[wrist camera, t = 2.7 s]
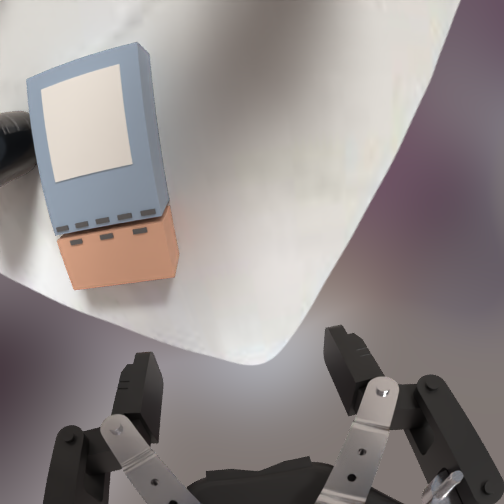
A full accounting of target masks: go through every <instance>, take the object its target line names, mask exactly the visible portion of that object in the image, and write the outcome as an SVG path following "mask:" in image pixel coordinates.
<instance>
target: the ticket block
mask: <svg viewBox="0 0 504 504" xmlns="http://www.w3.org/2000/svg"><path fill="white" fill-rule="evenodd" d="M26 82H27V94H28V105H29V114H30V122H31V129H32V136H33V142H34V148H35V154H36V159H37V164H38V169H39V174H40V179H41V183H42V188H43V192H44V196H45V200H46V204H47V208H48V212H49V215H50V219H51V223H52V226H53V229H54V233H55V236H56V235H61V234H66V233H71V232H76V231H81V230H86V229H91V228H96V227H102V226H107V225H113V224H118V223H124V222H130V221H135V220H141V219H147V218H153V217H159V216H162V214H163V212H164V210H165V208H166V205H167V203H168V201H169V196H168V190H167V184H166V178H165V172H164V166H163V160H162V153H161V147H160V140H159V133H158V126H157V118H156V110H155V102H154V94H153V85H152V76H151V66H150V56H149V53H148V52H147V51H146V50H145V49H144V48H143V47H142V46H141V45H140V44H139V43H138V42H135V43H131V44H127V45H123V46H119V47H115V48H112V49H108V50H105V51H101V52H98V53H95V54H91V55H88V56H85V57H82V58H79V59H76V60H73V61H71V62H68V63H65V64H62V65H60V66H57V67H54V68H52V69H49V70H47V71H44V72H42V73H40V74H37V75H35V76H33V77H30V78H28V79H26Z"/></svg>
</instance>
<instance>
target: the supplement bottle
mask: <svg viewBox="0 0 504 504" xmlns="http://www.w3.org/2000/svg"><path fill="white" fill-rule="evenodd" d="M36 164H37V159H36V154H35V148H34V142H33V136H32V129H31V122H30V114H29V113H28V112H24V111H12V112H4V113H0V187H1V186H3V185H5V184H7V183H9V182H11V181H13V180H15V179H17V178H19V177H21V176H23V175H25V174H27V173H28V172H30V171H31V170H32V169H33V168H34V167H35V165H36Z"/></svg>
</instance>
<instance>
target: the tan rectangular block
mask: <svg viewBox="0 0 504 504" xmlns="http://www.w3.org/2000/svg"><path fill="white" fill-rule="evenodd" d="M57 243H58V246H59V249H60V252H61V255H62V258H63V261H64V264H65V267H66V270H67V272H68V275H69V278H70V281H71V283H72V286H73V289H74V290H80V289H88V288H96V287H104V286H112V285H120V284H127V283H135V282H143V281H150V280H158V279H165V278H173V277H175V274H176V269H177V263H178V258H179V250H178V245H177V240H176V235H175V230H174V225H173V220H172V215H171V210H170V206H166V208H165V210H164V212H163V214H162V216H159V217H153V218H147V219H141V220H135V221H130V222H124V223H118V224H113V225H107V226H102V227H96V228H91V229H86V230H81V231H76V232H71V233H66V234H64V235H62V236H61V237H60V238H59V239H58V240H57Z"/></svg>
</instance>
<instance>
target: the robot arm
mask: <svg viewBox="0 0 504 504" xmlns="http://www.w3.org/2000/svg"><path fill="white" fill-rule="evenodd" d="M324 360H325V363H326V366H327V368H328V371H329V373H330V375H331V377H332V379H333V382H334V384H335V386H336V389H337V391H338V393H339V396H340V398H341V400H342V403H343V405H344V407H345V410H346V412H347V414H348V416H351V415H355V414H356V418H355V420H354V421H353V423H352V425H351V428H350V430H349V433H348V435H347V437H346V440H345V442H344V445H343V447H342V449H341V451H340V454H339V456H338V458H337V461H336V463H335V465H334V466H332V465H329V464H325V463H319V462H311V460H310V457H309V456H307V457H303V458H298V459H293V460H288V461H284V462H281V463H279V464H277V465H274V466H271V467H269V468H266V469H264V470H261V471H248V470H236V469H226V470H215V471H206V478H203V479H200V480H198V481H196V482H194V483H192V484H191V485H189V486H188V487H187V488H186V487H185V486H184V485H183V484H182V483H181V482H180V481H179V480H178V479H177V477H176V476H175V475H174V474H173V473H172V472H171V471H170V470H169V469H168V467H167V466H166V465H165V464H164V463H163V461H162V460H161V459H160V458H159V457H158V455H157V454H156V453H155V452H154V451H153V450H152V449H151V448H150V445H151V443H158V442H159V428H160V416H161V405H162V395H163V378H162V374H161V372H160V369H159V367H158V364H157V362H156V359H155V356H154V354H153V352H142V353H136V355H135V359H134V363H133V364H127V365H126V367H125V368H124V369H123V371H122V372H121V376H120V380H119V384H118V390H117V392H116V396H115V401H114V405H113V410H112V414H111V416H109V417H108V418H106V419H105V420H104V421H103V422H102V424H101V427H99V428H95V429H91V430H87V431H82V430H81V429H80V428H79V427H77V426H74V425H70V426H66V427H64V428H63V429H61V430H60V431H59V433H58V434H57V437H56V441H55V445H54V450H53V454H52V459H51V463H50V468H49V473H48V478H47V483H46V488H45V495H44V500H43V504H108V500H109V485H110V472H111V471H115V470H120V469H122V470H123V471H124V473H125V474H126V476H127V477H128V479H129V480H130V481H131V483H132V484H133V486H134V487H135V488H136V490H137V491H138V492H139V494H140V495H141V496H142V498H143V499H144V500H145V502H146V503H147V504H403V503H401V502H399V501H397V500H395V499H393V498H391V497H389V496H388V495H386V494H384V493H382V492H380V491H378V490H376V489H374V488H373V487H371V485H372V483H373V480H374V477H375V475H376V472H377V469H378V466H379V464H380V461H381V457H382V455H383V451H384V448H385V445H386V442H387V439H388V435H389V431H390V430H400V429H404V431H405V434H406V436H407V438H408V440H409V442H410V445H411V447H412V449H413V451H414V453H415V456H416V458H417V460H418V462H419V464H420V467H421V469H422V471H423V473H424V476H425V478H426V480H427V483H428V485H427V486H426V488H425V489H424V491H423V493H422V502H423V504H495V503H496V502H497V501H498V500H499V499H500V498H501V497H502V495H503V492H504V481H503V479H502V477H501V476H500V473H499V471H498V470H497V468H496V466H495V464H494V462H493V460H492V458H491V457H490V455H489V453H488V451H487V450H486V448H485V446H484V444H483V443H482V441H481V439H480V438H479V436H478V434H477V432H476V431H475V429H474V427H473V426H472V424H471V422H470V421H469V419H468V417H467V416H466V414H465V412H464V411H463V409H462V408H461V406H460V405H459V403H458V402H457V400H456V398H455V397H454V395H453V393H452V392H451V390H450V389H449V387H448V386H447V384H446V383H445V381H444V380H443V379H442V378H440V377H439V376H436V375H425V376H423V377H421V378H420V379H419V381H418V383H417V384H405V385H401V384H397V383H396V382H395V381H394V380H393V379H391V378H388V377H385V376H384V374H383V372H382V371H381V369H380V367H379V366H378V364H377V362H376V361H375V359H374V357H373V356H372V355H371V353H370V351H369V349H368V348H367V346H366V344H365V343H364V341H363V340H362V339H361V338H360V337H359V336H357V335H356V334H354V333H352V334H347V332H346V331H345V329H344V327H343V326H342V325H338V326H332V327H328V328H326V329H325V337H324Z"/></svg>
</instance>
